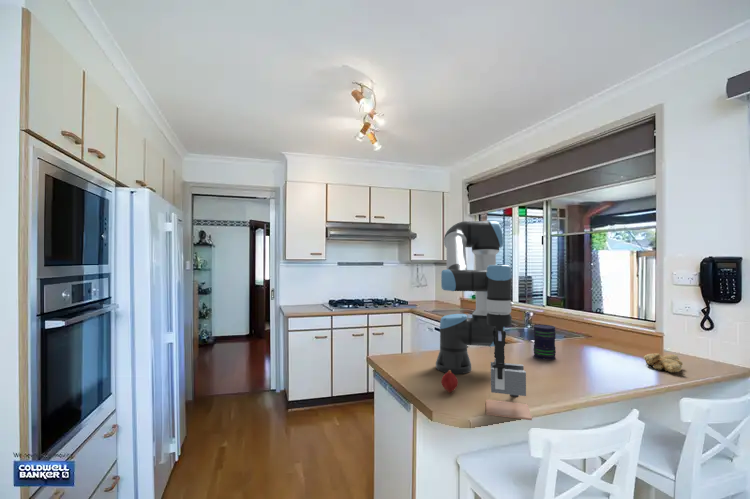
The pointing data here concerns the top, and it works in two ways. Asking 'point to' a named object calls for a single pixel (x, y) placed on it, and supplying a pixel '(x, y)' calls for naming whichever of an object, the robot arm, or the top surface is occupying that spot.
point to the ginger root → (664, 362)
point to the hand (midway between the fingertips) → (499, 383)
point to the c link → (511, 379)
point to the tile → (508, 409)
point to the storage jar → (544, 342)
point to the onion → (449, 381)
